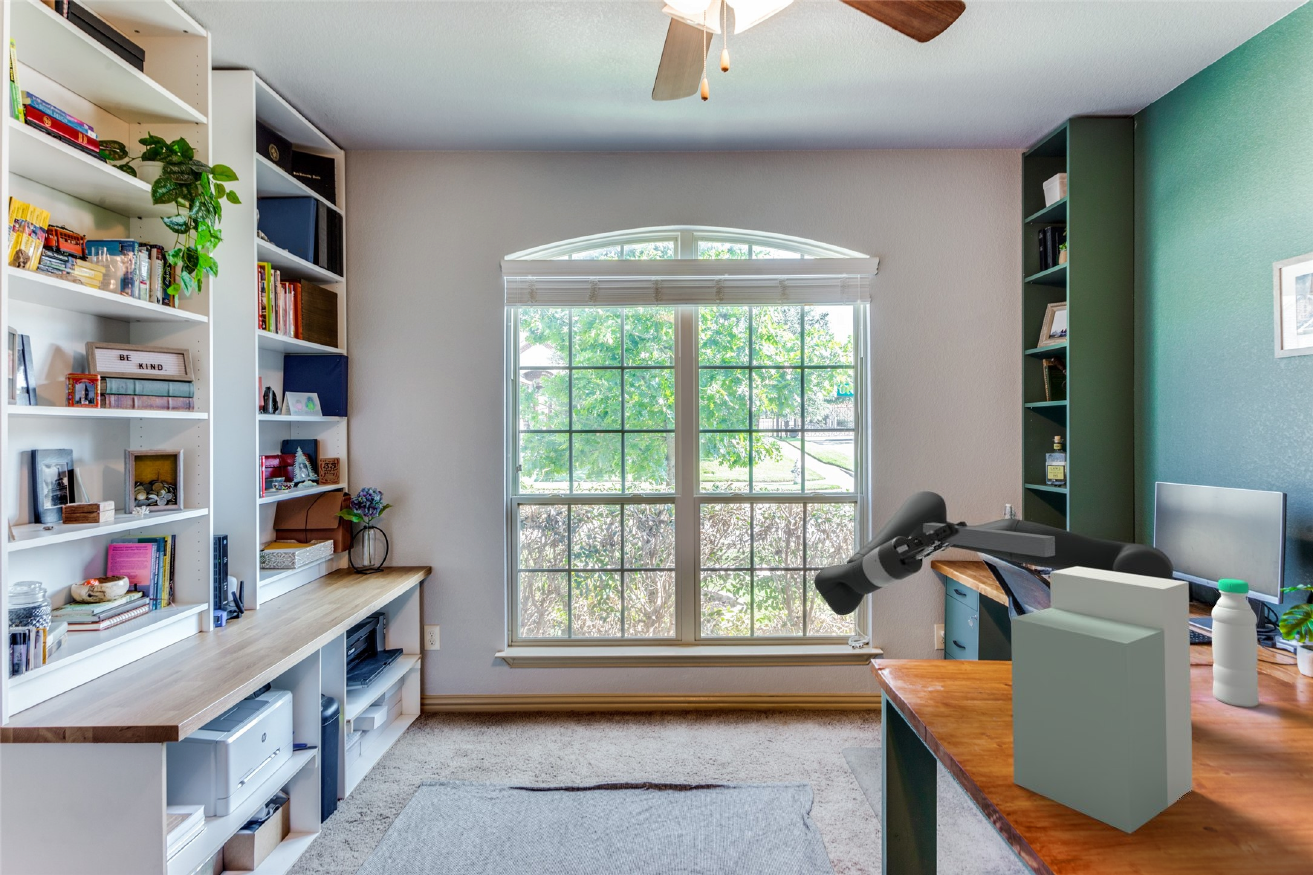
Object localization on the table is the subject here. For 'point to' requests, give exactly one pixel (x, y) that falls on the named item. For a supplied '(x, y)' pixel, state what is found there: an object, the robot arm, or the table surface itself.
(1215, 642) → the water bottle
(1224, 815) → the table surface
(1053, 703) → the stepped stand
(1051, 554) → the steel bar
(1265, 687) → the table surface
